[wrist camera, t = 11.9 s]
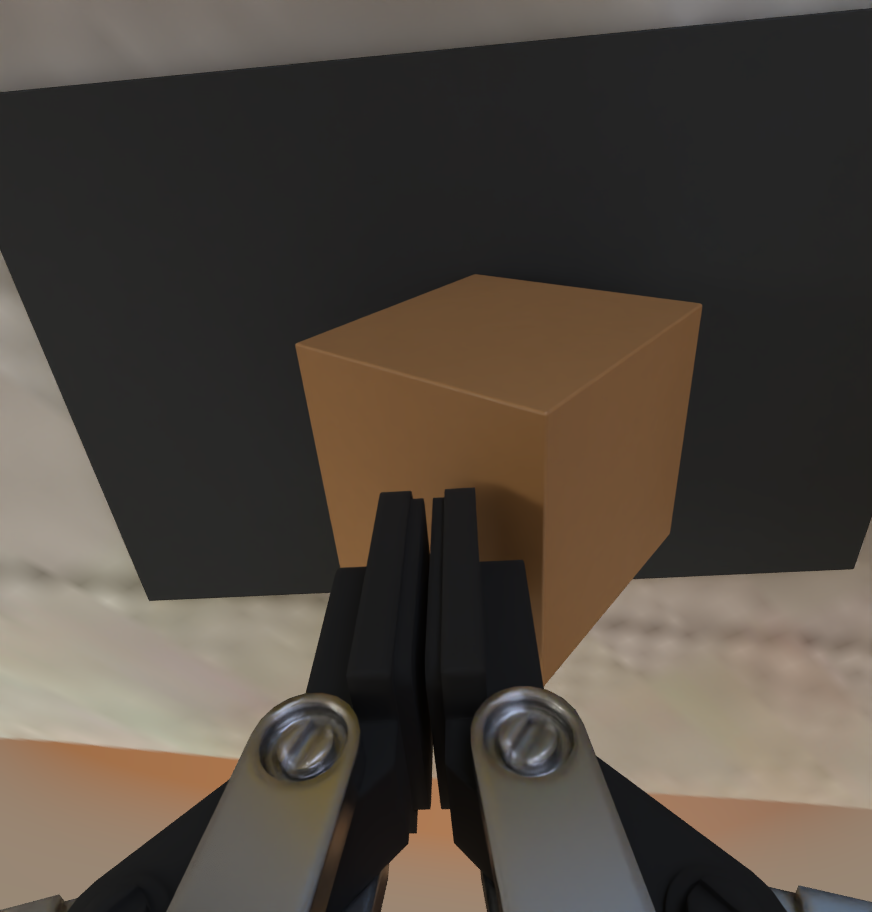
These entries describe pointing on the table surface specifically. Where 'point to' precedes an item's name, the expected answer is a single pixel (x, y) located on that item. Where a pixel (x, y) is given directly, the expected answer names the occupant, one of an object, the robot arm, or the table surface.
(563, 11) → the table surface
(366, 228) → the mat
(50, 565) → the table surface
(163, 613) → the table surface
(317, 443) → the box
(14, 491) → the table surface
